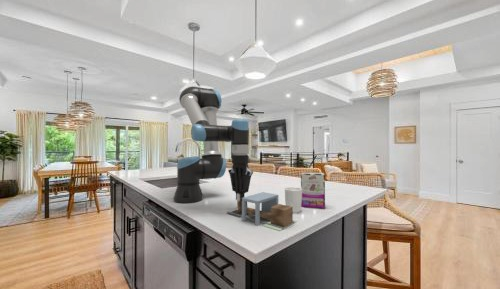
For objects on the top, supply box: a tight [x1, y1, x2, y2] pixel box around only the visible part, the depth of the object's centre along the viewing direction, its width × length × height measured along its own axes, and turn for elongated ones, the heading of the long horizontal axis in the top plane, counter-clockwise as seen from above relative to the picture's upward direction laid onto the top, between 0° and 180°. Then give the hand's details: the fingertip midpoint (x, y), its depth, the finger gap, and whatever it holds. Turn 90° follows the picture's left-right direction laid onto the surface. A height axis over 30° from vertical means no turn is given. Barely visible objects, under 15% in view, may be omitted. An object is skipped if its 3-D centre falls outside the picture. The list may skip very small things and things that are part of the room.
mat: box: [262, 220, 297, 232], centre depth 82 cm, size 8×12×1 cm, turn 140°
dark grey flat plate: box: [226, 209, 249, 219], centre depth 95 cm, size 8×10×1 cm
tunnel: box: [226, 191, 295, 231], centre depth 89 cm, size 28×14×9 cm, turn 50°
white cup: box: [284, 186, 302, 214], centre depth 99 cm, size 8×8×10 cm
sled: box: [237, 201, 294, 228], centre depth 87 cm, size 24×6×6 cm, turn 50°
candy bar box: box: [300, 172, 326, 210], centre depth 105 cm, size 11×5×16 cm, turn 73°
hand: (240, 207), depth 95 cm, fingers closed
